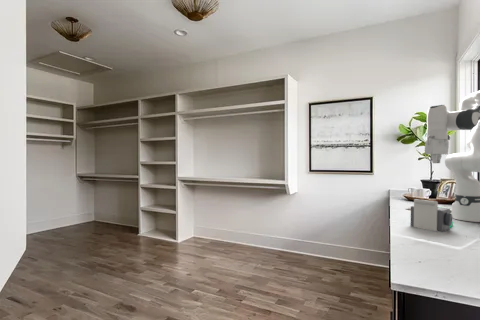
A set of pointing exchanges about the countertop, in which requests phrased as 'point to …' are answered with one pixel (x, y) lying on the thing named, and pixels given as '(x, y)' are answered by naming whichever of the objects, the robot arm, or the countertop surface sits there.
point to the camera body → (438, 218)
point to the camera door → (425, 214)
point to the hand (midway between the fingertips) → (436, 163)
